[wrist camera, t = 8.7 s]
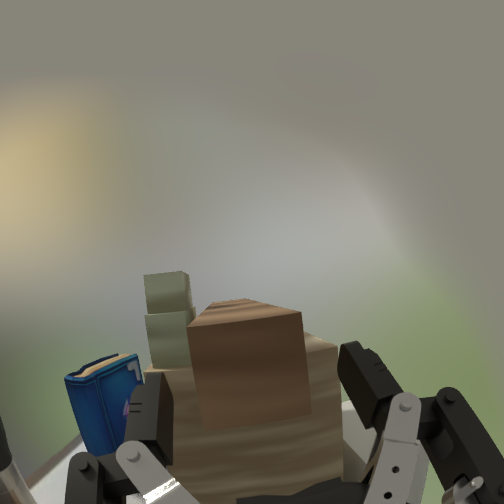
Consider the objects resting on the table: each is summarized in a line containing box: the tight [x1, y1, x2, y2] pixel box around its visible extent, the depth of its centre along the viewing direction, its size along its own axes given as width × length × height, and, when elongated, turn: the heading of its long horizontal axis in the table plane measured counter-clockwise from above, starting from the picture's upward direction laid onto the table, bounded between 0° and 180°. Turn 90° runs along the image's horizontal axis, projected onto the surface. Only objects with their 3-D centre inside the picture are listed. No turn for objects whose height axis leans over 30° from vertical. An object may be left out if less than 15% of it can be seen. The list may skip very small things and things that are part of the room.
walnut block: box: [186, 299, 312, 431], centre depth 22 cm, size 26×4×4 cm, turn 5°
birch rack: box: [143, 271, 343, 504], centre depth 24 cm, size 14×14×39 cm
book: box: [64, 354, 144, 457], centre depth 51 cm, size 22×7×25 cm, turn 171°
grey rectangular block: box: [342, 400, 429, 504], centre depth 24 cm, size 15×7×20 cm, turn 5°
